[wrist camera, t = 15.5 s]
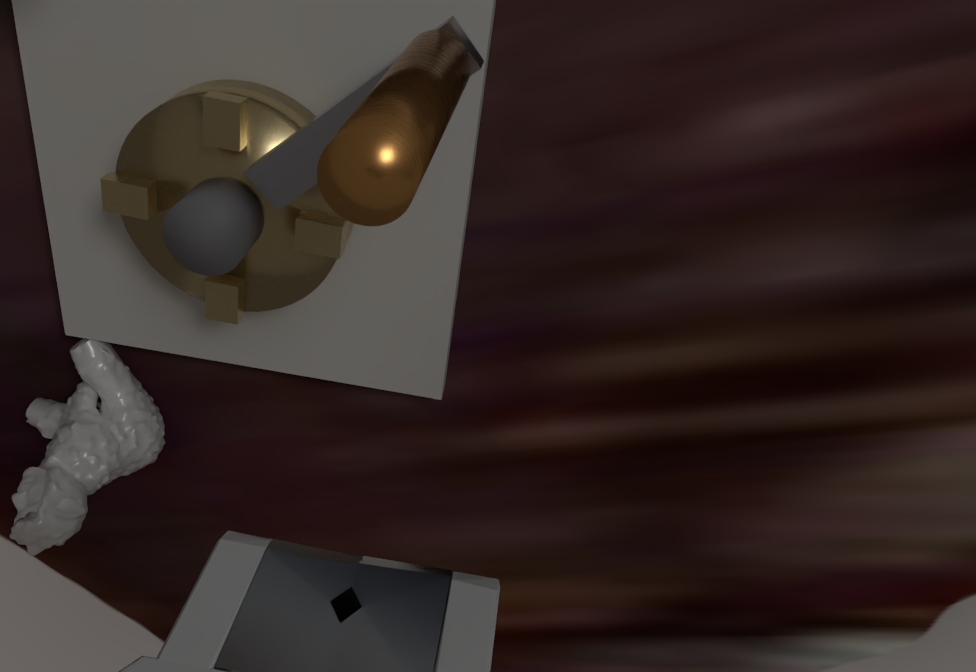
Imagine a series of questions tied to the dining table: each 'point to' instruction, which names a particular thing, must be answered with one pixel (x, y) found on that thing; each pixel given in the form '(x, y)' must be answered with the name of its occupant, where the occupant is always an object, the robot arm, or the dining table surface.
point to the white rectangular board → (229, 205)
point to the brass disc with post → (290, 168)
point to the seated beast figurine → (85, 446)
